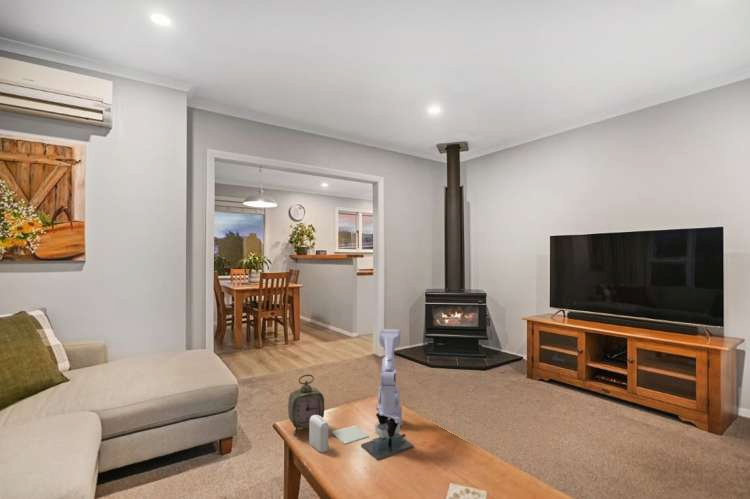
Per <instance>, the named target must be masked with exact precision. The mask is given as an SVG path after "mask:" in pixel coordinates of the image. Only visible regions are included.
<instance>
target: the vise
mask: <svg viewBox="0 0 750 499" xmlns="http://www.w3.org/2000/svg"><path fill="white" fill-rule="evenodd" d="M406 436H407V435H406V433H403V434H400V432H399V433H396V434H394V436H393V437H389V436H387V437H384V438H381V437H380V436H379V437H376V438H373V439H372V440H370V441H367V442H364V443H361V446H360V447H361V448H362V449H364V450H365V452H367V453H368V454H369V455H371V456H372V457H373V458H374V459H375V460H376V461H380V460H382V459H385V458H388V457H390V456H393V455H396V454H399V453H403V452H405V451H407V450H410V449H414V446H415V444H413V443H411V442H410V441H408V440H407V439H406Z"/></svg>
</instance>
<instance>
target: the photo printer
mask: <svg viewBox="0 0 750 499" xmlns="http://www.w3.org/2000/svg"><path fill="white" fill-rule="evenodd" d="M308 429H309V430H308V431H309V433H308V434H309V435H308V436H309V439H308V441H309V442H308V443H309V444H310V446H312V447H313V448H314V449H315V450H317V451H318V452H320V453H325V452H327V451H328V450H329V423H328V422H327V420H326V419H325V418H324V417H323V418H322V417H321V416H319V415H313V416H311V418H310V421H309V427H308Z"/></svg>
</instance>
